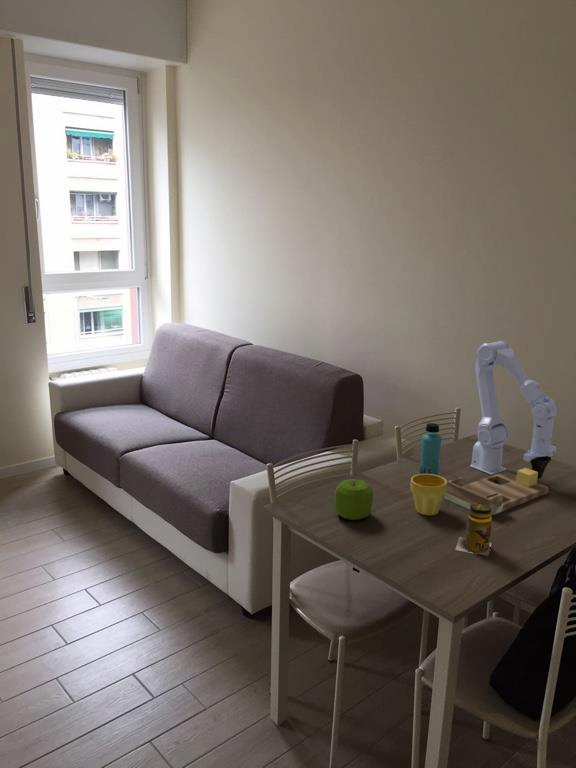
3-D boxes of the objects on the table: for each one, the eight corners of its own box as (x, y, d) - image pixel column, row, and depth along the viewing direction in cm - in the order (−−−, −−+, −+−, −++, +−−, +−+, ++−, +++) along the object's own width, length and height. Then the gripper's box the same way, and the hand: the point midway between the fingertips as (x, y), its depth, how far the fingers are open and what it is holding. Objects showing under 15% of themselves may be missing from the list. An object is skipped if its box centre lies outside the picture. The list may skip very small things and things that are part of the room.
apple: (375, 523, 183) (377, 488, 180) (337, 524, 182) (338, 488, 180) (368, 506, 194) (369, 472, 191) (332, 507, 193) (333, 473, 190)
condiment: (489, 557, 166) (493, 514, 163) (455, 550, 169) (458, 508, 166) (491, 544, 173) (495, 502, 170) (458, 538, 176) (462, 497, 173)
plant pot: (412, 500, 198) (414, 470, 196) (447, 506, 195) (449, 476, 192) (405, 515, 189) (407, 483, 186) (442, 521, 185) (444, 489, 183)
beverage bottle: (438, 479, 214) (442, 421, 209) (439, 487, 208) (443, 428, 203) (418, 477, 215) (422, 420, 210) (418, 485, 209) (422, 426, 204)
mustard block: (524, 479, 210) (525, 467, 209) (536, 483, 207) (538, 472, 206) (515, 482, 208) (517, 470, 207) (528, 487, 204) (529, 475, 203)
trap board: (505, 476, 217) (506, 461, 216) (547, 493, 205) (549, 476, 203) (444, 498, 200) (445, 481, 199) (486, 517, 188) (488, 500, 186)
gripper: (539, 445, 199) (534, 486, 202) (566, 436, 207) (561, 476, 210) (519, 439, 204) (515, 479, 208) (546, 430, 212) (542, 469, 216)
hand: (537, 477), depth 209 cm, fingers closed
